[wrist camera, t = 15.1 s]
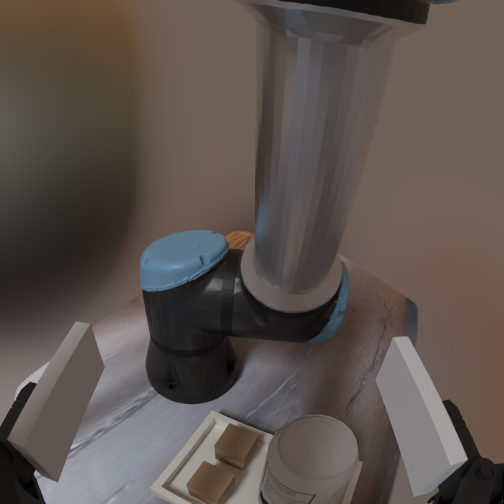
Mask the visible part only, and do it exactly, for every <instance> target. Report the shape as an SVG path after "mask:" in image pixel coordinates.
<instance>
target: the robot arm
mask: <svg viewBox="0 0 504 504" xmlns="http://www.w3.org/2000/svg"><path fill="white" fill-rule="evenodd" d="M234 1H235V2H236V3H238V4H239V5H240V6H241V7H242V8H244V9H245V10H246V11H247V12H248V13H250V14H251V15H252V17H253V18H254V20H255V21H256V128H255V131H256V132H255V229H254V239H253V240H251V241H250V243H249V244H248V245H247V247H246V248H245V250H239V249H229V244H228V242H227V240H226V238H225V237H224V236H223V235H222V234H220V233H215V232H214V231H209V230H191V231H184V232H179V233H175V234H171V235H168V236H166V237H163V238H161V239H159V240H157V241H155V242H154V243H152V244H151V245H150V246H148V247H147V248H146V250H145V251H144V252H143V254H142V256H141V260H140V274H141V280H140V286H141V288H142V292H143V298H144V304H145V310H146V316H147V322H148V327H149V332H150V343H149V347H148V352H147V357H146V371H147V375H148V379H149V382H150V384H151V385H152V387H153V388H154V389H155V390H156V391H157V392H158V393H159V394H160V395H162V396H163V397H165V398H167V399H169V400H172V401H175V402H179V403H185V404H198V403H204V402H208V401H211V400H214V399H216V398H218V397H220V396H221V395H223V394H224V393H225V392H227V391H228V390H229V389H230V387H231V386H232V385H233V383H234V381H235V379H236V375H237V358H236V354H235V352H234V349H233V347H232V345H231V343H230V340H229V338H228V336H236V337H245V338H255V339H265V340H277V341H289V342H298V343H300V344H309V343H322V342H325V341H328V340H329V339H331V338H332V337H333V336H334V335H335V334H336V332H337V331H338V329H339V327H340V326H341V323H342V321H343V312H344V311H345V310H346V307H347V302H348V296H349V277H348V271H347V268H346V266H345V264H344V263H343V262H342V261H341V260H340V258H339V256H338V254H337V252H338V249H339V246H340V243H341V240H342V237H343V235H344V232H345V229H346V226H347V223H348V220H349V217H350V214H351V211H352V208H353V205H354V201H355V198H356V195H357V192H358V189H359V186H360V183H361V179H362V176H363V173H364V169H365V166H366V162H367V159H368V155H369V152H370V149H371V145H372V141H373V138H374V134H375V130H376V127H377V123H378V119H379V115H380V111H381V107H382V103H383V99H384V95H385V91H386V86H387V83H388V78H389V74H390V69H391V65H392V60H393V55H394V50H395V46H396V44H397V43H398V42H399V41H400V40H402V39H404V38H406V37H408V36H410V35H412V34H414V33H416V32H418V31H420V30H423V29H424V28H425V26H426V21H427V17H428V11H429V6H430V3H432V4H448V3H453V2H455V1H457V0H234ZM104 368H105V367H104V364H103V361H102V358H101V355H100V352H99V349H98V346H97V343H96V340H95V337H94V333H93V330H92V327H91V324H89V323H82V322H76V323H75V324H74V326H73V327H72V329H71V330H70V332H69V333H68V335H67V336H66V338H65V339H64V341H63V343H62V344H61V346H60V347H59V349H58V350H57V352H56V353H55V355H54V357H53V358H52V360H51V361H50V363H49V365H48V366H47V368H46V370H45V371H44V373H43V375H42V376H41V378H40V380H39V381H38V383H37V384H36V383H33V382H29V383H28V384H27V385H26V386H25V387H24V388H22V389H21V391H20V393H19V394H18V396H17V398H16V401H14V403H13V405H12V408H11V409H10V410H9V412H8V414H7V416H6V418H5V419H4V421H3V423H2V425H1V427H0V504H46V503H45V501H44V498H43V496H42V493H41V491H40V488H39V485H38V482H37V480H36V478H35V476H34V472H35V469H36V470H37V471H38V472H39V473H40V474H41V475H42V476H44V477H46V478H48V479H51V480H53V481H56V482H58V481H59V478H60V475H61V472H62V469H63V467H64V464H65V461H66V458H67V456H68V453H69V450H70V448H71V445H72V443H73V440H74V438H75V435H76V433H77V430H78V428H79V425H80V423H81V420H82V418H83V416H84V413H85V411H86V408H87V406H88V404H89V401H90V399H91V397H92V395H93V392H94V390H95V388H96V386H97V383H98V381H99V379H100V377H101V374H102V372H103V370H104ZM375 380H376V382H377V385H378V388H379V391H380V393H381V396H382V399H383V402H384V404H385V407H386V410H387V413H388V416H389V419H390V422H391V425H392V428H393V431H394V434H395V437H396V440H397V443H398V446H399V449H400V452H401V455H402V459H403V462H404V465H405V468H406V472H407V475H408V478H409V481H410V485H411V489H412V492H413V496H414V497H417V496H420V495H423V494H427V493H430V492H431V491H432V490H434V489H435V488H436V487H437V486H438V488H439V492H438V493H437V494H435V495H434V496H433V497H431V498H430V499H429V501H428V502H427V503H430V502H432V501H433V500H434V502H433V504H504V463H503V464H493V462H492V461H491V460H489V459H487V458H482V457H481V456H480V454H479V452H478V450H477V448H476V446H475V443H474V441H473V439H472V437H471V435H470V432H469V430H468V428H467V427H466V424H465V422H464V420H463V419H462V416H461V414H460V412H459V409H458V408H457V407H456V406H455V405H454V404H453V403H452V402H451V401H450V400H445V401H441V399H440V397H439V395H438V393H437V391H436V389H435V387H434V385H433V383H432V381H431V379H430V377H429V375H428V373H427V371H426V369H425V367H424V366H423V364H422V362H421V360H420V358H419V356H418V354H417V353H416V351H415V349H414V347H413V345H412V343H411V341H410V340H409V338H408V336H407V337H393V339H392V342H391V344H390V347H389V349H388V352H387V354H386V356H385V359H384V361H383V363H382V366H381V368H380V370H379V373H378V375H377V377H376V379H375ZM502 500H503V503H502Z"/></svg>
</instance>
